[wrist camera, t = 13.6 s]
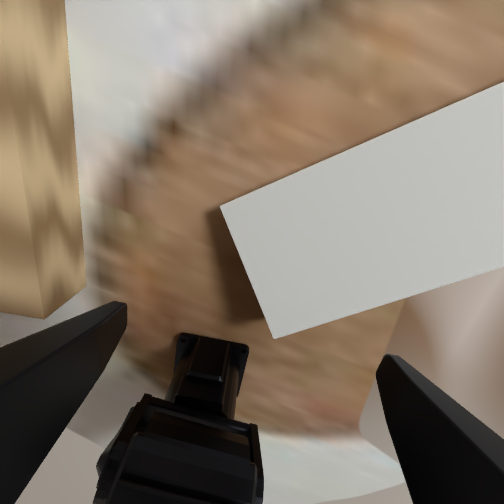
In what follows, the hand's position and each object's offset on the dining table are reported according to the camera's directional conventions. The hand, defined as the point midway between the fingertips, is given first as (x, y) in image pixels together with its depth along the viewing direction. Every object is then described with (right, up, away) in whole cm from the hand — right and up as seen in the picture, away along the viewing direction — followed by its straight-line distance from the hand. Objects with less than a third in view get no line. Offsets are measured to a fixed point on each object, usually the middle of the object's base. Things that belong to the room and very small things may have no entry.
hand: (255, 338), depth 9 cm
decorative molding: (+16, +9, +10) cm, 20 cm away
